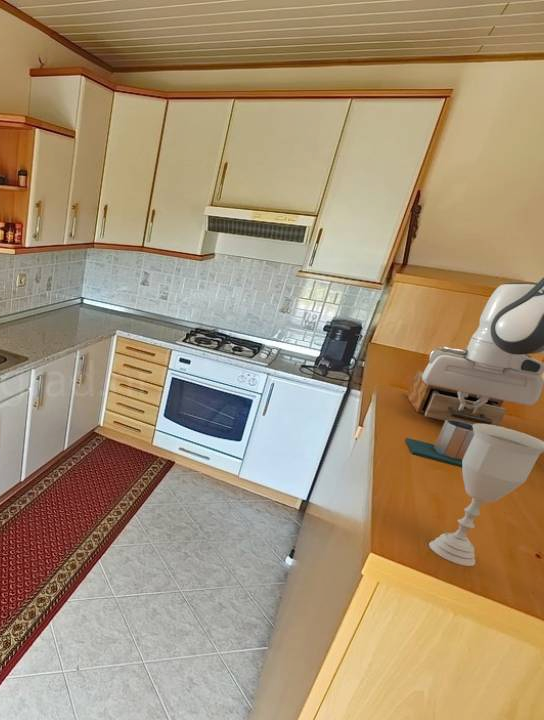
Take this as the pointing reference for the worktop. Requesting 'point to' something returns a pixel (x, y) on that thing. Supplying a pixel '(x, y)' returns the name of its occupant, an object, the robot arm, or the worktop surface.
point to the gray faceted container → (454, 439)
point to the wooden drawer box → (447, 408)
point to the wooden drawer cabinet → (421, 392)
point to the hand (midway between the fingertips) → (465, 411)
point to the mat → (429, 452)
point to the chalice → (488, 481)
